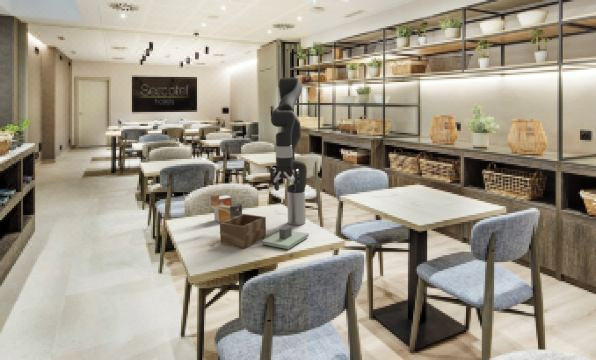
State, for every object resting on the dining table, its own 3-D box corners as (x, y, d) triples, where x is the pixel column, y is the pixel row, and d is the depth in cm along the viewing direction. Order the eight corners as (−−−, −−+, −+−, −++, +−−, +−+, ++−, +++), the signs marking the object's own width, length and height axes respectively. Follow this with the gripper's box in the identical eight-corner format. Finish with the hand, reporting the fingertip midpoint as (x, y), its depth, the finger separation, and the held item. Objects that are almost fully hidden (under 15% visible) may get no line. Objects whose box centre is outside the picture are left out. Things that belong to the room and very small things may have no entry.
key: (215, 206, 214) (214, 194, 213) (239, 210, 207) (238, 197, 205) (211, 208, 211) (210, 195, 210) (235, 211, 204) (234, 198, 203)
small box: (218, 222, 227) (217, 199, 225) (214, 220, 232) (213, 196, 230) (232, 220, 232) (231, 197, 229) (227, 217, 237) (227, 194, 234)
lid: (283, 234, 208) (283, 220, 207) (308, 238, 202) (308, 224, 200) (261, 246, 192) (261, 231, 191) (288, 251, 185) (288, 236, 184)
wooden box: (238, 232, 211) (237, 203, 208) (266, 237, 203) (265, 207, 200) (215, 243, 196) (213, 212, 193) (243, 248, 188) (242, 217, 185)
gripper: (302, 155, 189) (302, 191, 192) (275, 153, 195) (276, 188, 199) (294, 158, 182) (294, 194, 185) (266, 156, 189) (267, 191, 192)
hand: (285, 191), depth 192 cm, fingers open, 8 cm apart
